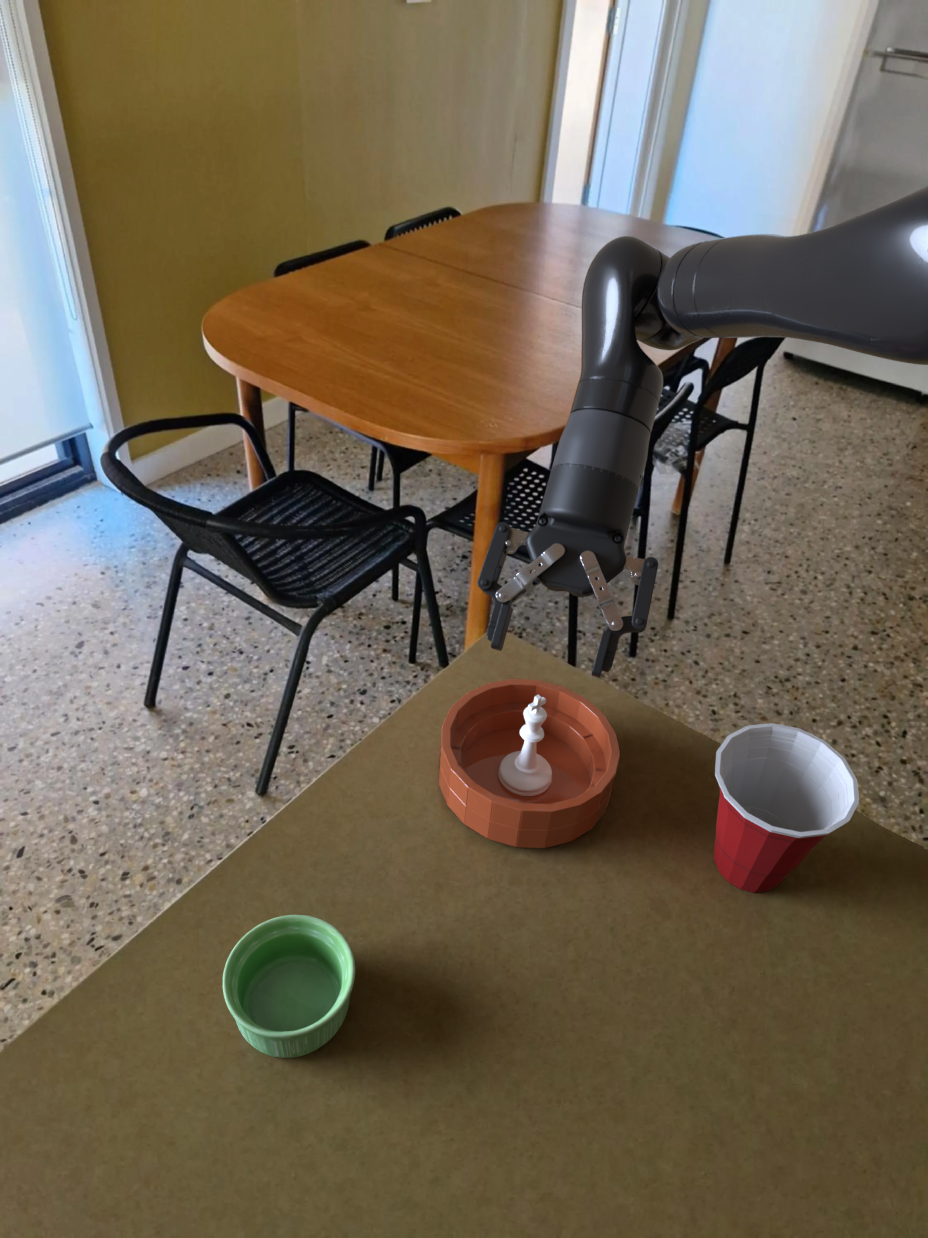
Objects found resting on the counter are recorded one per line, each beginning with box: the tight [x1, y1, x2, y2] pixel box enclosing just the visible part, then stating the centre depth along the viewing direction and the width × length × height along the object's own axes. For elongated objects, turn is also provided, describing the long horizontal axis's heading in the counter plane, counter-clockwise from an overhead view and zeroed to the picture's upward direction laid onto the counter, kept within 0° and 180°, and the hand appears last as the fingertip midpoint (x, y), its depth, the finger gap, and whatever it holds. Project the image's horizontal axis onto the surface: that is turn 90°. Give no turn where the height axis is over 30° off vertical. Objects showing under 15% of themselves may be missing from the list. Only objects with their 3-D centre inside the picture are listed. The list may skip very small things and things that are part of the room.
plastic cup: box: [713, 722, 860, 894], centre depth 72 cm, size 11×11×12 cm
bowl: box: [438, 678, 621, 849], centre depth 80 cm, size 16×16×6 cm
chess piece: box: [498, 695, 552, 796], centre depth 78 cm, size 5×5×10 cm
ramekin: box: [222, 914, 356, 1059], centre depth 62 cm, size 9×9×4 cm
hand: (545, 662), depth 73 cm, fingers open, 8 cm apart
